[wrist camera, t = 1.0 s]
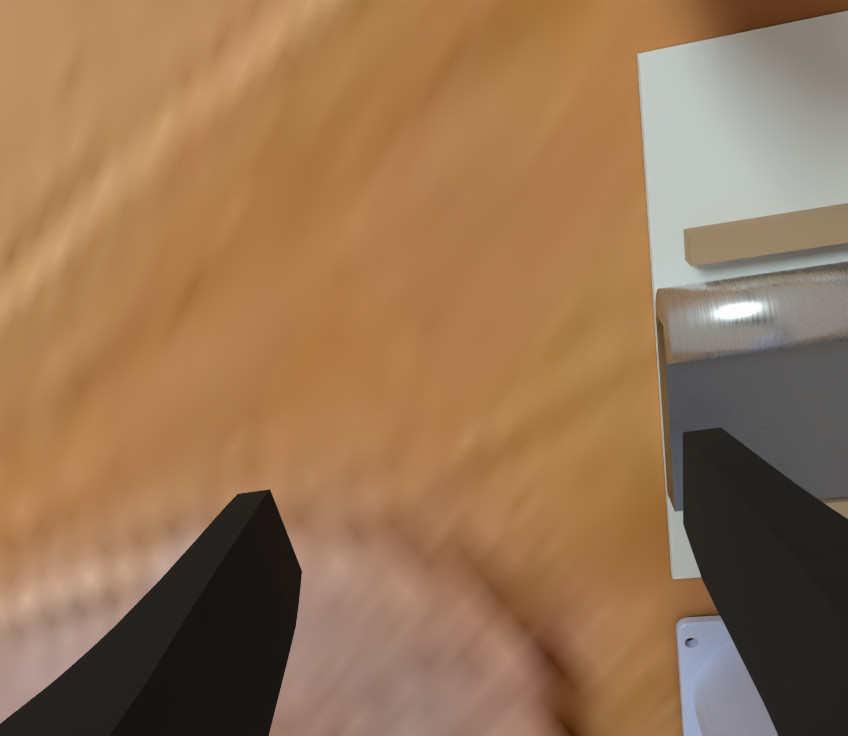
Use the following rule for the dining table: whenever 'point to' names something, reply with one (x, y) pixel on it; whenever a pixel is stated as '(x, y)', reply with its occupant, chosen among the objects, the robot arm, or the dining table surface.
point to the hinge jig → (745, 167)
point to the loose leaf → (760, 371)
